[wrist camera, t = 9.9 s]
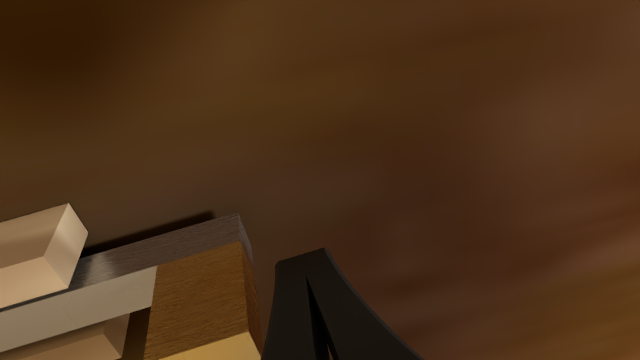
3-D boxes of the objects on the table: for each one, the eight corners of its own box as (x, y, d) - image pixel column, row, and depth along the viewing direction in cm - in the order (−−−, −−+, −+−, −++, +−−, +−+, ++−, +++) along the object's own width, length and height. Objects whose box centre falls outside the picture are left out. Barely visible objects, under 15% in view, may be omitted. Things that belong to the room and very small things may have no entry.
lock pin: (250, 244, 14) (265, 367, 11) (-92, 347, 14) (-208, 518, 10) (237, 212, 14) (248, 331, 10) (-127, 319, 13) (-267, 492, 9)
